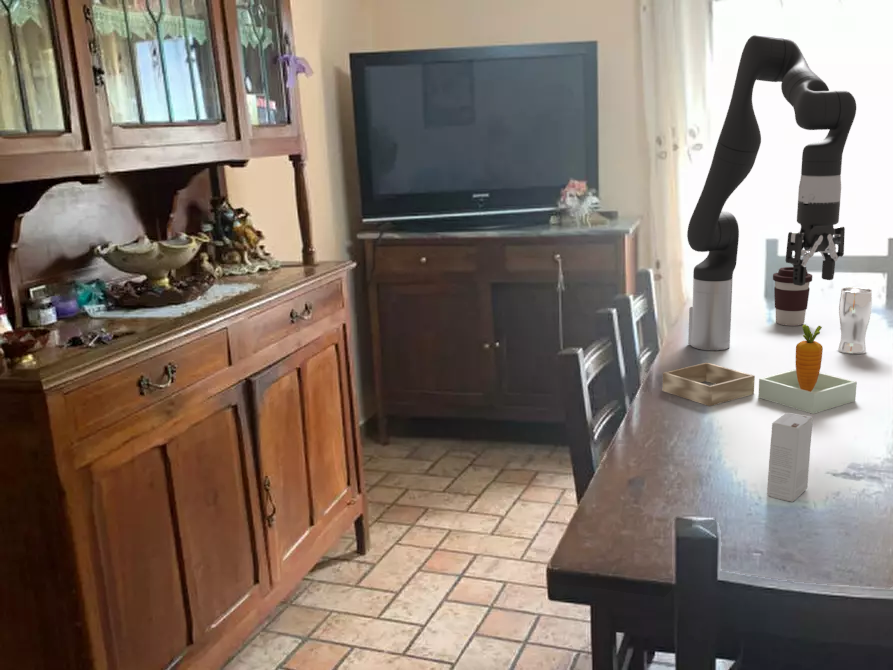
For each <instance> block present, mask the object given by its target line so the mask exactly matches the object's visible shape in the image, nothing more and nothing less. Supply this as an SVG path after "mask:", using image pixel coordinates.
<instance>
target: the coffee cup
mask: <svg viewBox="0 0 893 670" xmlns="http://www.w3.org/2000/svg"><path fill="white" fill-rule="evenodd" d="M793 268H794V267H793V266H784V267H780V268H779V269H778V272H775V273H773V274H772V280H773V281H774V289H773V292H774V308H775V323H777V324H779V325H782V326H789V327H793V326H794V327H799V326H801V325H804V324H805V319H806V314H807V310H808V304H809V303H808V302H809V296H810V283H811V282H812V281H813V274H811V273H809V272H808V270H807V269H806V278H805V285H802V286H799V285H794V283H793Z"/></svg>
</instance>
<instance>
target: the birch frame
mask: <svg viewBox="0 0 893 670" xmlns="http://www.w3.org/2000/svg"><path fill="white" fill-rule="evenodd" d="M755 377H756V375H754V374H751V373H747V372H742V371H740V370H736V369H733V368H728V367H725V366H721V365H717V364H714V363H710V362H702V363H699V364H694V365H689V366H686V367H682V368H677V369H673V370H669V371H664V372H662V392H664V393H667V394H672V395H673V396H677V397H680V398H682V399H683V398H684V399H687V400H689V401H692V402H696V403H699V404H701V405H704V406H707V407H711V406H715V405H719V404H723V403H726V402H730V401H733V400H738V399H741V398H745V397H748V396H753V395H755V379H756V378H755ZM704 382H708V383H711V385H708V384H706V383H704Z"/></svg>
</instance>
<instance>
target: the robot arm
mask: <svg viewBox="0 0 893 670" xmlns="http://www.w3.org/2000/svg"><path fill="white" fill-rule="evenodd" d="M756 81H763V82H773V83H778V82H779V83H780V82H781V85H780V87H781V93H782V96H783V98H784V99H785V100H786V101H787V102H788V104H790V105H791V106H792V107H793V110H794V120H795V123H796V124H797V126H798V127H799V128H801V129H804V130H807V131H817V130H818V131H820V130H821V131H822V130H824V131H825V130H827V131H828V132H827V134H826V136H825V138H823V139H822V140H820V141H816V142H813V143H809V144H807V145H805V146H804V147H803V150H802V156H801V168H800V169H801V171H800V172H801V173H800V174H801V175H800V180H799V185H798V192H797V193H798V195H797V196H798V197H797V212H796V222H797V224H799V225H800V229H799V231H789V232H788V235H787V241H786V251H785V252H786V253H785V263H786V264H791V265H792V267H794V268H793V283H794V285H799V286H802V285H805V278H806V270H807V266H806V265H807V264H808V262H809V259H810V258H812V257H814V254H816V253H820V254H821V257H822V259H823V260H822V267H821V268H822V269H821V279H822V280H825V281H826V280H827V281H832V280H833V279H834V277H835V268H836V262H837V261H838V258H842V257H844V254H845V252H844V251H845V231H846V227H844V226H839V225H837V224H839V222H840V208H841V195H842V194H841V193H842V180H841V179H842V176H841V175H842V164H843V163H842V162H843V153H844V149H845V147H846V146H845V145H846V143H847V141H848V137H849V133H850V131H851V128H852V126H853V123H854V121H855V117H856V114H857V102H856V98H855V97H854V96H853V94H852V93H851V92H850V91H847V90H830V89H829V87H828V85H827V83H826V82H825V81H824V80H823V79H822V78H820V76H818V74H816V73H815V72H814V71H813V70H812V69H811V68H810V66H809V63H807V61H806V58H805V57H804V54H803V52H802V51H801V48H800V47H799V46H798V45H797V43H796V42H794V40H792V39H790V38H785V37H779V36H772V35H762V34H754V35H753V34H752V36H750V37H749V38H748V39H747V41H746V42H745V45H744V46H743V50H742V52H741V55H740V60H739V64H738V68H737V72H736V76H735V81H734V85H733V90H732V94H731V99H730V102H729V105H728V109H727V112H726V116H725V119H724V122H723V125H722V127H721V130H720V134H719V137H718V140H717V142H716V143H717V144H716V146H715V150H714V153H713V156H712V157H713V158H712V160H711V165H710V167H709V170H708V174H707V176H706V179H705V182H704V185H703V188H702V191H701V193H700V196H699V197H698V201H697V202H696V205H695V208H694V210H693V213H692V215H691V217H690V220H689V223H688V226H687V234H686V237H687V242H688V245H689V246H690V248H691V249H692V250H693V251H695V252H698V253H701V252H702V253H706V252H708V254H707V256H706V257H705V258H704V260H702V261H701V262H699V263H698V264H697V265H695V266H694V268H693V272H692V273H693V277H692V278H693V279H692V281H693V282H692V306H690V307H689V311H688V335H687V336H688V339H687V340H688V342H687V343H688V345H689V346H691V347H692V348H694V349H698V350H703V351H722V350H723V351H724V350H727V349H729V348H730V345H731V329H732V328H731V327H732V325H731V323H732V302H733V301H732V299H733V298H732V297H733V277H734V276H733V275H734V271H735V269H736V266H737V260H738V250H739V238H740V230H739V223H738V221H737V219H736V217H735V215H734V214H733V213H731V212H729V211H723V208H724V206H725V204H726V202H727V200H728V199H729V198H730V196H731V195H732V194H733V193H734V192H735V190H736V189H737V188H738V187H739V186H740V185H741V184H742V183H743V182H744V181H745V180H746V178H747V177H748V175H749V174H750V172H751V171H752V169H753V167H754V165H755V162H756V159H757V156H758V153H759V150H760V147H761V142H762V137H761V136H762V135H761V131H760V125H759V123H758V119H757V116H756V115H755V110H754V106H753V93H754V86H755V83H756ZM836 245H837V247H836ZM793 251H794V256H793Z"/></svg>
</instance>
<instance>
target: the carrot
mask: <svg viewBox="0 0 893 670" xmlns="http://www.w3.org/2000/svg"><path fill="white" fill-rule="evenodd" d="M822 327H823V326H821V325H818V326H817V327H816V328H815V331H814V332H812V331H811V329H810V327H809V326H808V325H807V324H805V323H804V324H802V331H803V335H802V337H803V338H804V340H801V341H799V342H798V343H797V344H796V345H795V346H796V347H795V369H796V373H797V379H798V383H799V386H800V388H801V389H803V390H806V391H810V392H811V391H812V390H813V388H814V386H815V384H816V382H817V379H818V376H819V372H820V373H821V367H822V360H823V345H822V344H821V343H819V342H818V341H816V340H815V339H816V338H817V336H818V335H820V334H821V332H820V331H821V330H822V329H823V328H822Z"/></svg>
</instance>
